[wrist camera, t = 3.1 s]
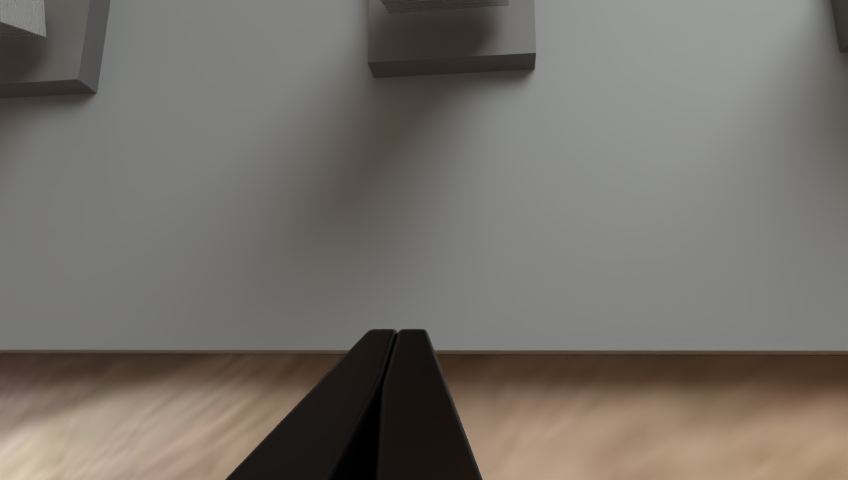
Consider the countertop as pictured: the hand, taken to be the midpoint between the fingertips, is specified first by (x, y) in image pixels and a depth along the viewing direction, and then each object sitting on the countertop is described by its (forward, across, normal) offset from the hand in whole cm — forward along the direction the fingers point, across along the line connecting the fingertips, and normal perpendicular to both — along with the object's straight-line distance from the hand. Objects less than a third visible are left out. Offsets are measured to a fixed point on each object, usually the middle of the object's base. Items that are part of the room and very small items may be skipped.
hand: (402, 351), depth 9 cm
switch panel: (+13, 0, +3) cm, 13 cm away
